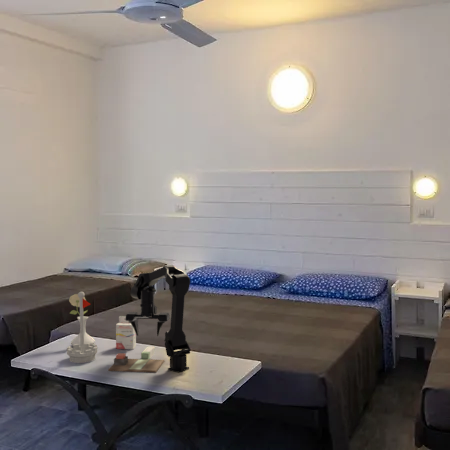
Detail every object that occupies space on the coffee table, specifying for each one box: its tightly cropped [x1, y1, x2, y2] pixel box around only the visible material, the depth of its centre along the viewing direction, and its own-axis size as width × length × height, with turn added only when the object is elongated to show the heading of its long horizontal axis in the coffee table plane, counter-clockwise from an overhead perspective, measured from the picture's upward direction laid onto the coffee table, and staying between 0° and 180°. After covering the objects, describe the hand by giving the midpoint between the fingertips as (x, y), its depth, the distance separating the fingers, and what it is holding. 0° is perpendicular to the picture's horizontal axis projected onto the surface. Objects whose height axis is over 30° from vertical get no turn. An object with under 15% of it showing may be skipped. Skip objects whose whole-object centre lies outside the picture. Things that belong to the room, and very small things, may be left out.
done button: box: [115, 352, 127, 359], centre depth 238 cm, size 3×3×2 cm
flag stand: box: [66, 291, 98, 364], centre depth 247 cm, size 13×13×30 cm
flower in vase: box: [68, 293, 96, 347], centre depth 269 cm, size 13×11×25 cm
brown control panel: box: [107, 355, 165, 373], centre depth 237 cm, size 20×15×3 cm
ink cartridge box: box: [115, 315, 137, 350], centre depth 266 cm, size 9×5×15 cm, turn 84°
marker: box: [140, 345, 156, 359], centre depth 251 cm, size 11×3×3 cm, turn 173°
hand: (147, 335), depth 250 cm, fingers open, 9 cm apart
